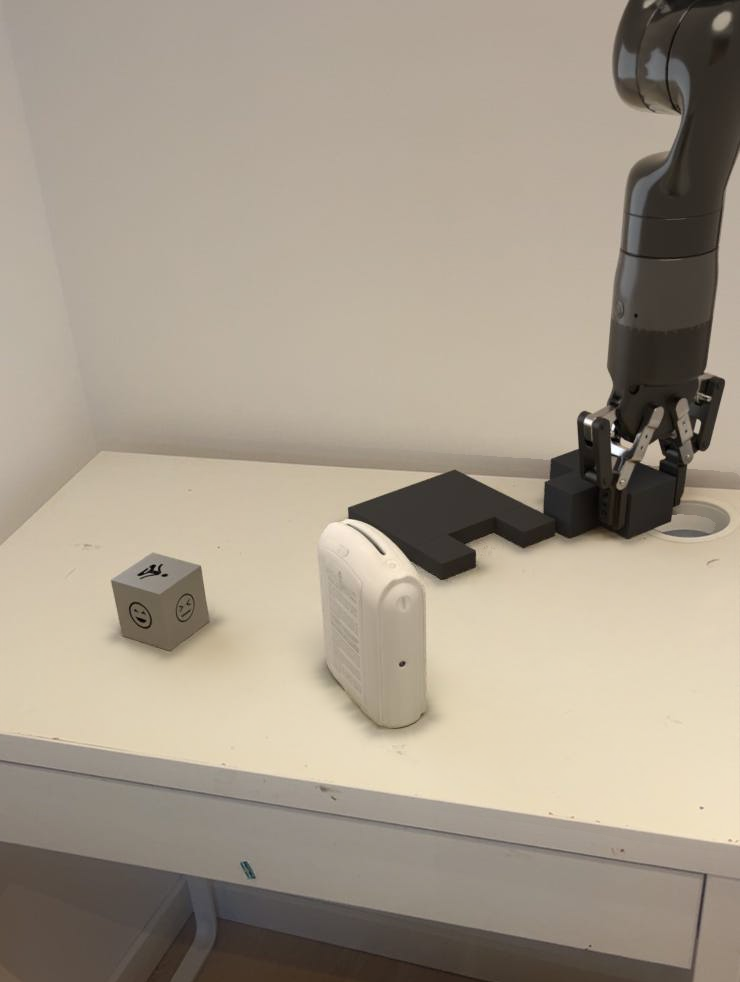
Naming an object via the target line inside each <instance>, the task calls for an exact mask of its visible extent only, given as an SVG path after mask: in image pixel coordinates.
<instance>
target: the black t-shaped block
mask: <svg viewBox="0 0 740 982" xmlns="http://www.w3.org/2000/svg"><path fill="white" fill-rule="evenodd" d="M621 461H622V459H621V457H618V459H617V461H616V464H615V466H614V469H613V470H614V471H616V472H617V471H618V469H619V466H620V464H621ZM595 467H596V463H595ZM676 479H677V478H676V477H674V476H671V475H669V474H666V473H664V472H662V471H659V469H656V468H655V467H652V466H650V465H647V464H645V463H642V462H639V463H637V464H636V465H635V466H634V469H633V471H632V474H631V476H630V479H629V481H628V484H627V486H626V487H628V495H627V505H626V515H625V525H624V527H623V528H620V529H618V530H613V529H611V528H609V527H607V526H605V525H603V524H602V523H601V521H600V520H599V518H598V509H599V508H598V505H599V492H600V487H598V486H596V485H594V484H592V483H589V482H587V481H585V480H583V479H581V477H580V462H579V448H577V449H573V450H572V451H568V452H565V453H563V454H559V455H557V456H554V457H552V458H551V459H550V466H549V479H548V480H546V481H544V488H543V489H544V490H543V507H542V508H543V509H542V513H543V514H545V515H547V516H549V517H551V518H553V519H555V520H556V524H555V533H558V534H559V535H561V536H564V537H566V538H567V539H572V538H575V537H577V536H580V535H582V534H584V533H587V532H590V531H592V530H595V529H597V528H600V527H602V528H604V529H605V530H608V531H610V532H611V533H613V534H616V535H618V536H620V537H622V538H624V539H626V540H629V539H633V538H634V537H637V536H639V535H642V534H644V533H647V532H649V531H651V530H654V529H656V528H659V527H661V526H664V525H666V524H669V523H671V522H672V517H673V509H674V507H673V503H674V495H675V487H676Z"/></svg>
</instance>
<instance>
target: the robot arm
mask: <svg viewBox="0 0 740 982" xmlns="http://www.w3.org/2000/svg"><path fill="white" fill-rule="evenodd" d="M619 20H620V21H619V22H618V25H617V28H616V33H615V36H614V41H613V44H612V47H613V48H612V53H611V74H612V81H613V85H614V88H615V91H616V94H617V95H618V97H619V99H620V101H622V103H623V104H624V105H625V106H627V107H629V108H630V109H633V110H635V111H638V112H642V113H649V114H656V115H657V114H659V115H668V116H675V117H680V123H679V127H678V130H677V132H676V135H675V137H674V140H673V143H672V144H671V147H670V149H669V150H664V151H660V152H655V153H651V154H649V155H646V156H644V157H642V158H641V159H639V160H637V161H636V162H635V163H634V164H633V165H632V167H631V168H630V169H629V172H628V174H627V178H626V182H625V188H624V196H623V209H622V219H621V220H622V221H621V233H620V244H619V245H620V247H619V253H618V259H617V263H616V267H615V273H614V278H613V285H612V288H613V289H612V298H611V299H612V300H611V309H610V311H611V313H610V324H609V335H608V346H607V358H606V359H607V360H606V369H607V372H608V373H609V376H610V379H611V382H612V389H611V392H610V395H609V396H608V399H607V402H606V406H604V407H603V408H600V409H599V410H597V411H595V412H593V413H592V412H589V411H587V410H583V411H581V412H579V414H578V415H577V419H576V430H577V445H578V446H577V447H578V449H579V462H580V477H581V479H583V480H585V481H587V482H589V483H592V484H594V485H596V486H598V487H600V492H599V505H598V508H599V509H598V518H599V520H600V521H601V523H602V524H603V525H605V526H607V527H609V528H611V529H613V530H618V529H620V528H623V527H624V525H625V515H626V505H627V495H628V487H626V486H627V484H628V481H629V479H630V476H631V474H632V471H633V469H634V466H635V465H636V464H637V463H639V462H640V463H642V461H643V460H644V457H645V454H646V452H647V449H648V447H649V446H651V444H653V443H654V442H656V441H658V444H659V448H660V451H661V454H662V456H663V457H664V458H663V459H660V460H659V462H658V463H659V464H658V470H659V471H662V472H664V473H666V474H669V475H671V476H674V477H676V478H677V479H676V487H675V495H674V503H673V508H675V507H678V506H680V505H681V501H682V497H683V495H684V492H685V484H686V480H687V479H686V478H687V470H688V465H690V463H692V461H693V459H694V457H695V454H696V453H697V452H703V453H704V452H706V451H707V450H708V449H709V447H710V445H711V441H712V438H713V433H714V430H715V425H716V422H717V418H718V415H719V411H720V405H721V403H722V402H721V401H722V398H723V395H724V390H725V386H726V380H725V378H723V377H720V376H718V375H715V374H712V373H709V372H705V371H706V369H707V366H708V359H709V353H710V352H709V350H710V344H711V337H712V330H713V322H714V314H715V307H716V300H717V293H718V287H719V285H718V284H719V274H720V273H719V270H720V269H719V267H720V266H719V264H720V263H719V257H720V256H719V254H720V253H719V252H720V245H721V235H722V229H723V222H724V213H725V205H726V194H727V189H728V185H729V181H730V179H731V176H732V173H733V170H734V168H735V165H736V163H737V161H738V157H739V155H740V0H627V3H626V5H625V7H624V9H623V11H622V14H621V17H620V19H619ZM697 420H699V422H700V426H699V429H698V432H695V428H696V424H697ZM621 439H623V440H624V441H626V442H628V443H631V444H632V445H631V447H629V448H628V447H626V446H623V445H622V443H621V441H622V440H621ZM618 457H621V459H622V461H621V464H620V466H619V469H618V471H617V472H616V471H614V470H613V469H614V466H615V464H616V461H617V459H618ZM595 463H596V467H595Z"/></svg>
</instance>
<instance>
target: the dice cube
mask: <svg viewBox="0 0 740 982" xmlns="http://www.w3.org/2000/svg"><path fill="white" fill-rule="evenodd" d="M110 585H111V588H112V593H113V599H114V602H115V607H116V612H117V617H118V621H119V627H120V633H121V636H122V637H124V638H125V637H126V638H128V639H131V640H134V641H138V642H141V643H143V644H147V645H150V646H153V647H156V648H159V649H162V650H165V651H169V652H171V651H172V650H173V649H175V648H176V647H177V646H179V645H180V644H181V643H182V642H184V641H185V640H187V639H188V638H189V637H190V636H192V635H194V634H196V632H197V631H198V630H200V629H202V628H203V627H204V626H206V625H207V624H208V623H210V615H209V609H208V602H207V596H206V590H205V589H206V588H205V583H204V575H203V569H202V565H200V564H197V563H193V562H190V561H186V560H182V559H179V558H175V557H171V556H168V555H164V554H160V553H156V552H151V553H149V554H148V555H146V556H145V557H144V558H142V559H140V560H139V561H136V563H134V564H133V565H131V566H130V567H128V568H127V569H125V570H123V571H122V572H121V573H119V574H118V575H116V576H115V577H113V578H111V579H110Z"/></svg>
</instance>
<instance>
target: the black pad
mask: <svg viewBox="0 0 740 982" xmlns="http://www.w3.org/2000/svg"><path fill="white" fill-rule="evenodd" d="M347 517H348V518H347V519H352V520H357V521H361V522H364V523H366V524H368V525H370V526H372V527H374V528H376V529H377V530H379V531H380V532H382V533H383V534H384V535H385V536H387V537H388V538H389V539H390V540H391V541H392V542H393V543H394V544H395V545H396V546H397V547H398V548H399V549H400V550H401V551H402V552H403V553H404V555H405V556H406V557H407V558H408V560H409V561H410V562H412V563H414V564H415V565H417V566H419V567H420V568H422V569H423V570H425V571H427V572H428V573H430V574H432V575H433V576H435V577H436V578H438V579H440V580H441V581H443V580H444V581H445V580H446V579H448V578H451V577H453V576H454V577H455V576H456V575H459V574H461V573H464V572H466V571H469V570H471V569H474V568H476V566H477V551H476V549H474V548H472V547H470V546H469V545H467V543H470V542H473V541H475V540H477V539H480V538H483V537H485V536H488V535H490V534H493V533H495V534H496V535H498V536H500V537H502V538H504V539H506V540H508V541H509V542H511V543H512V544H515V545H517V546H519V547H520V548H522V549H524V548H528V547H529V546H532V545H535V544H538V543H540V542H541V541H544V540H547V539H550V538H552V537H555V536H556V531H555V524H556V520H555V519H553V518H551V517H549V516H547V515H545V514H543V512H541V511H539V510H538V509H535V508H533V507H531V506H530V505H527V504H525V503H523V502H521V501H519V500H517V499H515V498H513V497H511V496H509V495H507V494H505V493H503V492H502V491H499V490H497V489H495V488H494V487H491V486H490V485H487V484H485V483H483V482H481V481H479V480H477V479H476V478H473V477H471V476H469V475H468V474H465V473H463V472H462V471H459V470H457V469H452V470H449V471H446V472H444V473H441V474H437V475H435V476H433V477H429V478H427V479H424V480H421V481H419V482H415V483H412V484H410V485H407V486H405V487H401V488H398V489H395V490H393V491H390V492H388V493H385V494H382V495H379V496H376V497H373V498H371V499H368V500H365V501H361V502H359V503H356V504H354V505H350V506H348V507H347Z"/></svg>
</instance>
